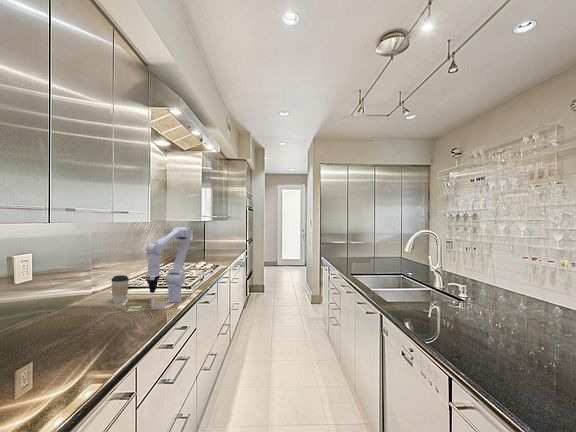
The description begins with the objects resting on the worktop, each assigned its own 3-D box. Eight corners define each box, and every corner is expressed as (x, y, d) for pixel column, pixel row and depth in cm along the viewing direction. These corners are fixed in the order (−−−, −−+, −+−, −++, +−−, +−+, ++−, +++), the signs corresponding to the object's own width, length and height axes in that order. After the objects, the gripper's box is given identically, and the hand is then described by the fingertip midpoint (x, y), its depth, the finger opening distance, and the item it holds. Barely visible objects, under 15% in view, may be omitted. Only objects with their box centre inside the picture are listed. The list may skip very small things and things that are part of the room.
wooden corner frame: (126, 305, 179) (126, 299, 179) (153, 304, 183) (153, 298, 183) (121, 312, 167) (121, 305, 167) (150, 310, 171) (151, 304, 171)
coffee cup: (111, 300, 189) (112, 274, 189) (128, 299, 193) (129, 273, 193) (110, 304, 181) (110, 277, 181) (128, 302, 184) (128, 276, 185)
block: (150, 309, 172) (151, 298, 173) (151, 307, 176) (151, 296, 176) (164, 309, 175) (165, 297, 175) (165, 307, 178) (165, 296, 178)
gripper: (147, 264, 181) (146, 288, 181) (144, 268, 167) (143, 294, 167) (161, 263, 183) (160, 287, 183) (158, 267, 169) (158, 293, 169)
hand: (153, 291), depth 175 cm, fingers open, 7 cm apart
